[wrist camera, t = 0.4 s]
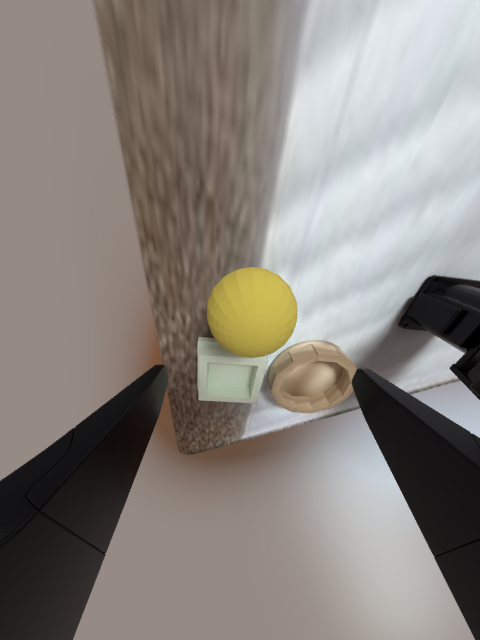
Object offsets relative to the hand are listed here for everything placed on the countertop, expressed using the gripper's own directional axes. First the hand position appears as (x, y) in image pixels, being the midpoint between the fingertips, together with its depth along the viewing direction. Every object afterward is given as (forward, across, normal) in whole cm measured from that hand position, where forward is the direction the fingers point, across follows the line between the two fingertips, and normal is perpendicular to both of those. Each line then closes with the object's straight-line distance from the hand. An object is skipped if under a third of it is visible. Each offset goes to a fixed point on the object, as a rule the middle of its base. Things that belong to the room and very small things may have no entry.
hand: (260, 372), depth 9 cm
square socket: (+13, +2, +12) cm, 18 cm away
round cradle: (+13, -9, +13) cm, 20 cm away
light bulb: (+13, 0, 0) cm, 13 cm away
